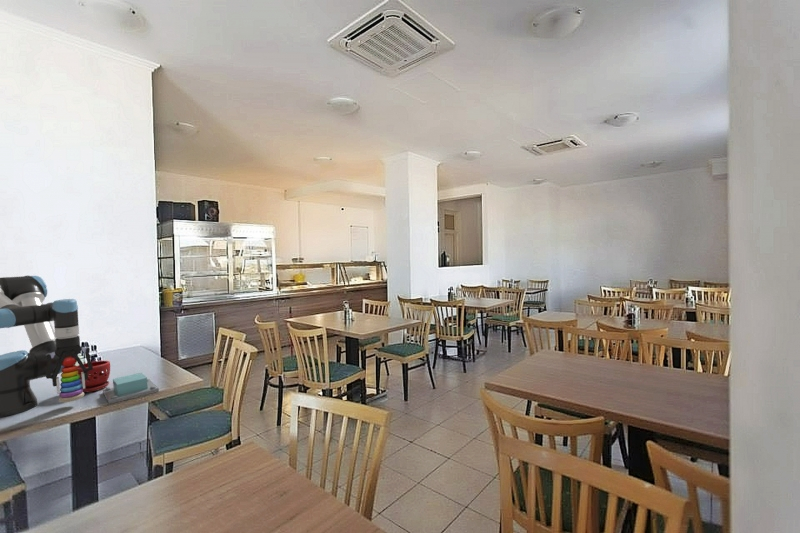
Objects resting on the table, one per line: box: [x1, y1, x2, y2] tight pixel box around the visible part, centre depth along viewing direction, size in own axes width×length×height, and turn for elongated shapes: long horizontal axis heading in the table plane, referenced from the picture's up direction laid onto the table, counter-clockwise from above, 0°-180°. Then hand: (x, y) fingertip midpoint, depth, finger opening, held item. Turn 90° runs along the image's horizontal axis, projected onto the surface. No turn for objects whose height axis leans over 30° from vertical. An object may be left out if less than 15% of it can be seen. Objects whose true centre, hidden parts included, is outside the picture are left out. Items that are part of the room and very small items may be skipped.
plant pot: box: [76, 360, 111, 393], centre depth 177 cm, size 13×13×12 cm
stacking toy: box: [58, 357, 85, 403], centre depth 156 cm, size 8×8×19 cm
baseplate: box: [102, 372, 160, 405], centre depth 170 cm, size 18×18×6 cm
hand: (71, 390), depth 156 cm, fingers closed on stacking toy, 7 cm apart
